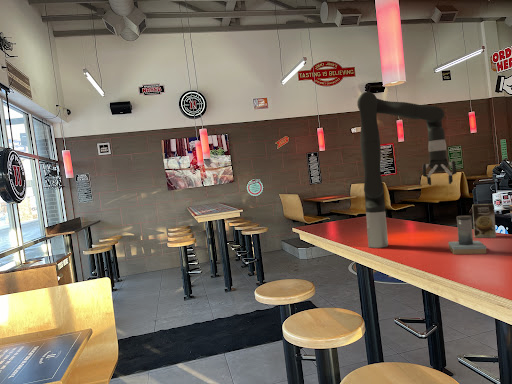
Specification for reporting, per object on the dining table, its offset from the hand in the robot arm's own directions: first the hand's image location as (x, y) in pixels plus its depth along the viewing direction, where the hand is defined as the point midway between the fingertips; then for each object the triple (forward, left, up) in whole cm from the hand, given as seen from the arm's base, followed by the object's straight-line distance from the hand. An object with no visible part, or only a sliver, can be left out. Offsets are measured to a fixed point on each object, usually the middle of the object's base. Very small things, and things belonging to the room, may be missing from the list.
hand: (440, 184), depth 178 cm
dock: (+6, -18, -28) cm, 34 cm away
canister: (+6, -18, -25) cm, 31 cm away
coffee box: (+20, +14, -28) cm, 37 cm away
